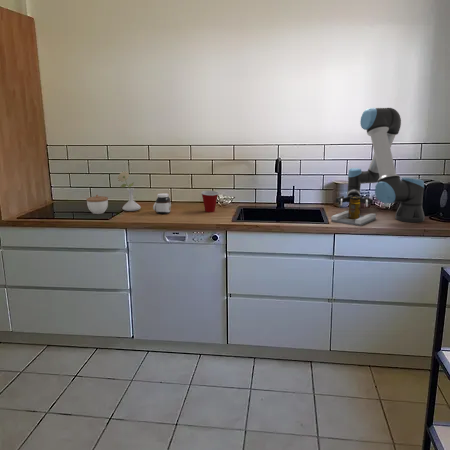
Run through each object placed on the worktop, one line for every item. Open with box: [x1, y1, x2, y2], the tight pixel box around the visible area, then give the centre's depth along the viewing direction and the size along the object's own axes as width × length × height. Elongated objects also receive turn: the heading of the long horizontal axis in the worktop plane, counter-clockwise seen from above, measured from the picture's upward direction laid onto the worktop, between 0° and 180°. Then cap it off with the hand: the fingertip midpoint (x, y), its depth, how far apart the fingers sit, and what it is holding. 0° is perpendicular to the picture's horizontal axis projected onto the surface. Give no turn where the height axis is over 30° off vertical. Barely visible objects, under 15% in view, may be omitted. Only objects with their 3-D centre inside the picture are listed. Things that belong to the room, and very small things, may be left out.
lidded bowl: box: [86, 194, 109, 215], centre depth 278 cm, size 13×13×11 cm
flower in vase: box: [117, 170, 142, 212], centre depth 282 cm, size 13×11×25 cm
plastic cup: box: [200, 190, 220, 213], centre depth 279 cm, size 11×11×12 cm
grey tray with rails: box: [330, 209, 377, 227], centre depth 253 cm, size 17×20×3 cm
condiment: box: [344, 196, 361, 220], centre depth 252 cm, size 7×8×12 cm
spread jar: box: [152, 192, 172, 215], centre depth 277 cm, size 12×11×12 cm
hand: (354, 203), depth 251 cm, fingers open, 13 cm apart
